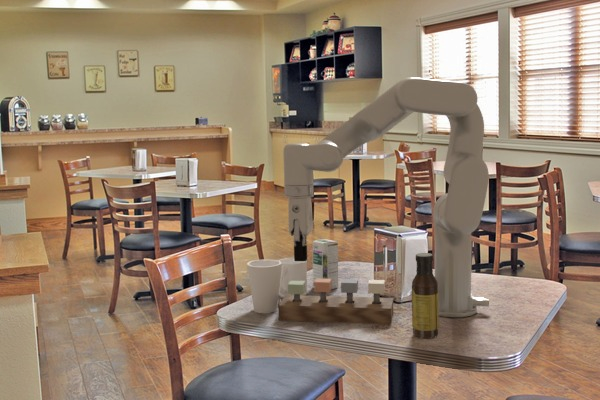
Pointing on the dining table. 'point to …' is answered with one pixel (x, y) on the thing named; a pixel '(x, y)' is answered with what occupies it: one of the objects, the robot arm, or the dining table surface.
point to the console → (336, 309)
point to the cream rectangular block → (376, 289)
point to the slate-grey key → (349, 288)
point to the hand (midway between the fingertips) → (300, 260)
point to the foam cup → (264, 284)
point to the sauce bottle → (425, 299)
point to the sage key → (296, 289)
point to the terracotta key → (322, 287)
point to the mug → (292, 274)
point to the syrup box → (325, 261)
